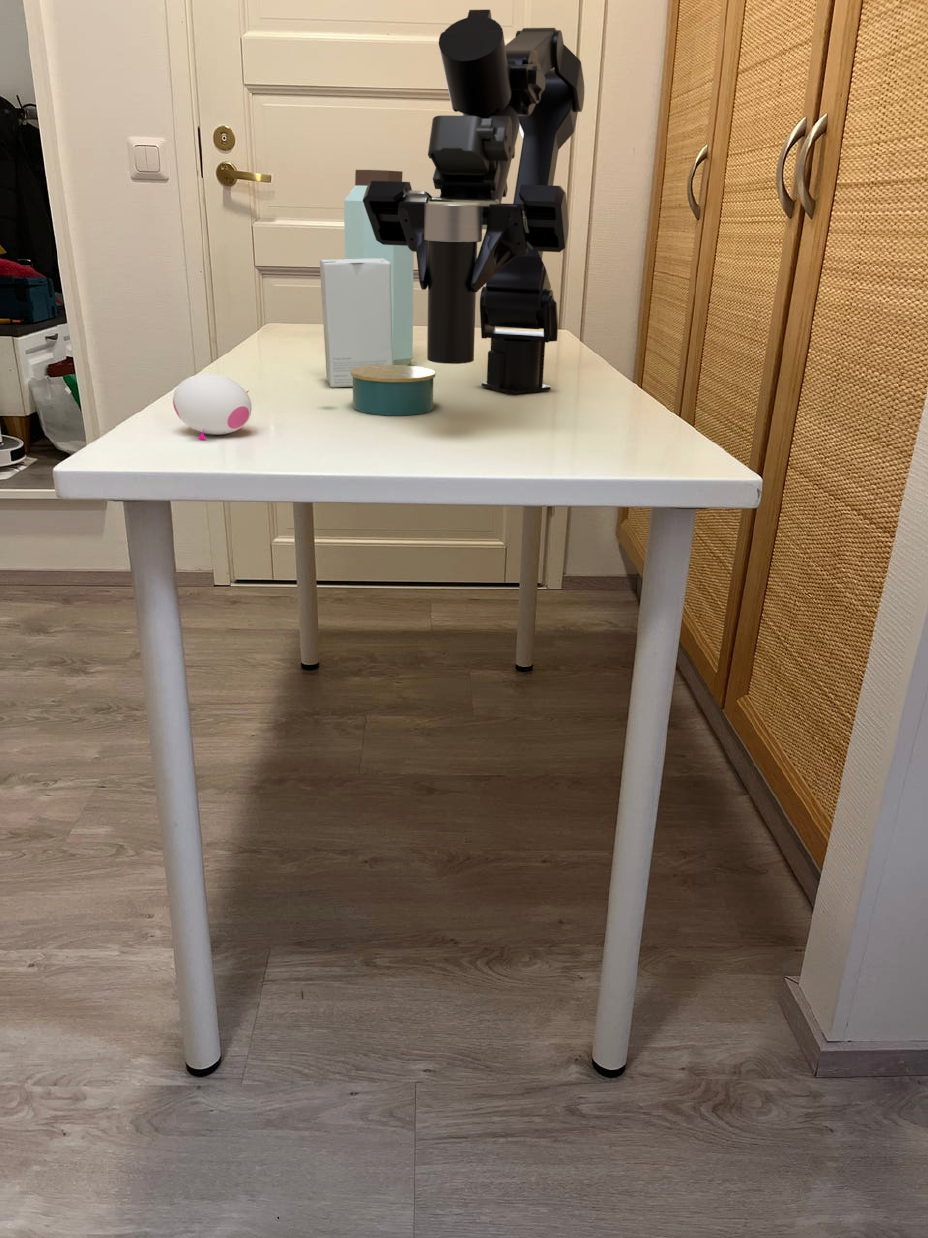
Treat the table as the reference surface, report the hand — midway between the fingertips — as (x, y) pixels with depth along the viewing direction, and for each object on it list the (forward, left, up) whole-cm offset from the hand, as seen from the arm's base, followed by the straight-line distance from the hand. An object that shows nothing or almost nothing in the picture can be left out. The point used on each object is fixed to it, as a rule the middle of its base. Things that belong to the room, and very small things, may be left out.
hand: (447, 287), depth 86 cm
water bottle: (-20, -45, -14) cm, 52 cm away
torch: (-1, -1, -7) cm, 7 cm away
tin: (-5, -17, -14) cm, 23 cm away
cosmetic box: (-9, -32, -14) cm, 37 cm away
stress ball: (+17, -14, -14) cm, 27 cm away
